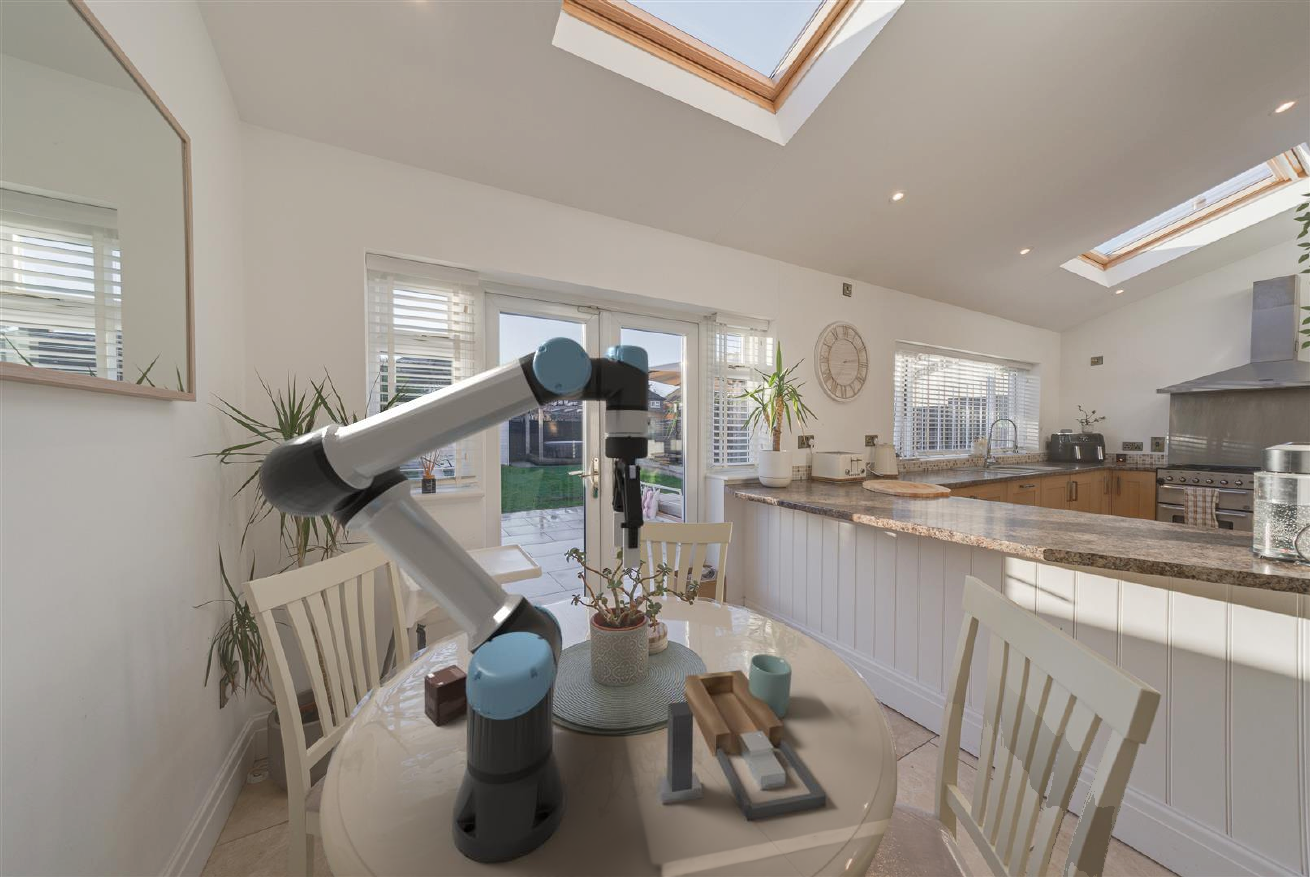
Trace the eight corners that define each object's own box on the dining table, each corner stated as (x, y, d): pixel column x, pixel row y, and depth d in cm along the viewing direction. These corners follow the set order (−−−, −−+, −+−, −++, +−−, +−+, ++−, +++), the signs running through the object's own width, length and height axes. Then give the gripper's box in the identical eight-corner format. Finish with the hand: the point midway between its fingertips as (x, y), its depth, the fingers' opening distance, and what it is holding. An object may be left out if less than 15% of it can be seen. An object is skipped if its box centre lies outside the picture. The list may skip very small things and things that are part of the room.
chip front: (760, 796, 67) (760, 776, 67) (749, 776, 70) (749, 757, 70) (785, 792, 67) (785, 772, 67) (772, 772, 71) (772, 753, 71)
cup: (789, 732, 82) (794, 677, 82) (746, 723, 83) (750, 669, 83) (785, 708, 90) (789, 658, 90) (746, 700, 91) (750, 651, 91)
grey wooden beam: (661, 814, 64) (662, 717, 64) (657, 797, 67) (658, 705, 67) (701, 807, 65) (702, 712, 65) (695, 791, 68) (696, 700, 68)
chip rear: (749, 769, 70) (750, 751, 70) (739, 751, 74) (740, 734, 74) (773, 766, 71) (773, 747, 71) (762, 748, 75) (762, 731, 75)
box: (468, 712, 86) (468, 675, 86) (436, 727, 82) (436, 687, 82) (455, 699, 91) (455, 663, 90) (423, 713, 86) (423, 675, 86)
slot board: (712, 765, 73) (713, 735, 73) (683, 700, 91) (683, 676, 91) (785, 754, 76) (785, 725, 76) (742, 693, 94) (743, 669, 94)
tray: (746, 831, 61) (747, 809, 61) (716, 767, 73) (716, 748, 73) (825, 816, 64) (825, 795, 64) (784, 756, 75) (784, 739, 75)
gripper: (663, 436, 67) (662, 577, 67) (635, 435, 92) (634, 538, 92) (613, 436, 66) (612, 580, 66) (599, 434, 90) (598, 539, 90)
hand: (625, 556), depth 79 cm, fingers open, 13 cm apart
